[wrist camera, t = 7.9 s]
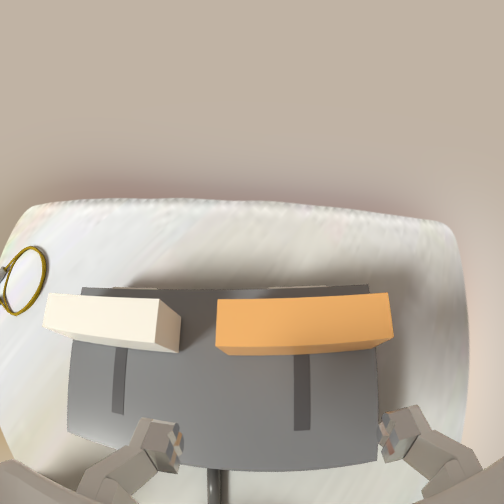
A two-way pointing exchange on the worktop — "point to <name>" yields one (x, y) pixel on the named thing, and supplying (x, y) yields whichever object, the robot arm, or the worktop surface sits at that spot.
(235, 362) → the switch box
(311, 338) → the orange switch
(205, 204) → the worktop surface
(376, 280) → the worktop surface
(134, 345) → the white switch
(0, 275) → the extension cord
